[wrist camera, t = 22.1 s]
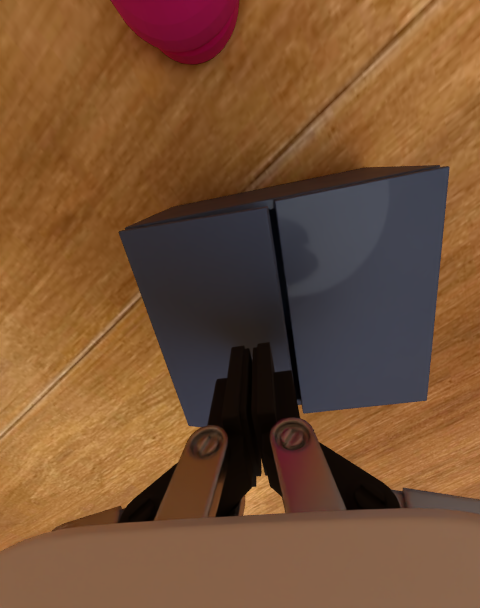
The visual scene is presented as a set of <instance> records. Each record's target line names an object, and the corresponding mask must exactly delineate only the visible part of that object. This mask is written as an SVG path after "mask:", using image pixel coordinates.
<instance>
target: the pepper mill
mask: <svg viewBox="0 0 480 608" xmlns="http://www.w3.org/2000/svg"><path fill="white" fill-rule="evenodd" d="M111 2H112V3H113V5H114V6H115V8H116V9H117V11H118V12H119V14H120V15H121V17H122V18H123V20H124V21H125V23H126V24H127V25H128V26H129V27H130V28H131V29H132V30H133V31H134V32H135V33H136V34H137V35H138V36H139V37H141V38H142V39H143V40H145V41H146V42H148V43H149V44H151V45H153V46H155V47H157V48H159V49H160V50H161V51H162V52H163V53H164V54H165V55H167V56H168V57H170V58H171V59H173V60H175V61H177V62H180V63H184V64H199V63H203V62H206V61H208V60H210V59H212V58H213V57H214V56H216V55H217V54H218V53H219V52H220V51H221V50H222V49H223V48H224V47H225V45H226V43H227V42H228V40H229V39H230V37H231V35H232V32H233V30H234V27H235V24H236V21H237V16H238V8H239V0H111Z"/></svg>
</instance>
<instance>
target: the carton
mask: <svg viewBox="0 0 480 608" xmlns="http://www.w3.org/2000/svg"><path fill="white" fill-rule="evenodd" d="M448 177H449V167H448V166H447V167H440V165H430V166H400V167H370V168H361V169H356V170H351V171H346V172H341V173H336V174H331V175H327V176H322V177H317V178H312V179H307V180H302V181H297V182H292V183H287V184H282V185H277V186H273V187H268V188H263V189H258V190H253V191H248V192H243V193H238V194H233V195H228V196H223V197H219V198H214V199H209V200H204V201H199V202H194V203H189V204H184V205H179V206H174V207H172V208H169V209H167V210H165V211H162V212H160V213H158V214H155V215H153V216H151V217H149V218H146V219H144V220H142V221H139V222H137V223H135V224H132V225H130V226H128V227H126V228H125V230H127V229H133V228H139V227H145V226H151V225H157V224H163V223H169V222H175V221H181V220H187V219H193V218H199V217H205V216H211V215H217V214H223V213H229V212H235V211H242V210H248V209H254V208H260V207H266V206H268V208H269V215H270V222H271V228H272V235H273V242H274V249H275V256H276V263H277V270H278V277H279V284H280V291H281V297H282V304H283V311H284V318H285V325H286V332H287V339H288V346H289V353H290V360H291V366H292V373H293V380H294V387H295V393H296V398H297V404H298V405H302V409H303V413H313V412H322V411H332V410H341V409H351V408H360V407H370V406H379V405H389V404H398V403H408V402H417V401H426V400H427V392H428V382H429V372H430V362H431V351H432V341H433V331H434V321H435V310H436V300H437V290H438V280H439V269H440V259H441V249H442V239H443V228H444V218H445V208H446V198H447V187H448Z"/></svg>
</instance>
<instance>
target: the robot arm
mask: <svg viewBox="0 0 480 608" xmlns="http://www.w3.org/2000/svg"><path fill="white" fill-rule="evenodd" d="M261 459H262V463H263V467H264V472H265V475H266V476H267V475H268V479H269V483H270V487H271V488H273V489H274V490H275V491H276V492H277V493H278V494H279V495H280V496H282V500H283V504H284V509H285V513H284V514H265V515H247V516H243V513H244V508H245V494H246V493H247V492H248V491H249V490H250V489H251V488H252V487H256V476H261ZM0 608H480V500H479V499H473V498H466V497H460V496H453V495H447V494H441V493H434V492H428V491H421V490H415V489H408V488H403V491H397V490H391V489H390V488H389V487H388V486H386V485H385V484H384V483H383V482H381V481H380V480H378V479H376V478H375V477H373V476H372V475H370V474H369V473H367V472H365V471H364V470H362V469H361V468H359V467H358V466H356V465H354V464H353V463H351V462H350V461H348V460H346V459H345V458H343V457H342V456H340V455H339V454H337V453H335V452H334V451H332V450H331V449H329V448H328V447H326V446H324V445H323V444H321V443H320V442H318V439H317V437H316V434H315V432H314V430H313V428H312V426H311V425H310V424H309V423H308V422H306V421H305V420H303V419H300V416H299V410H298V404H297V398H296V393H295V387H294V381H293V375H292V370H288V371H280V372H275V369H274V363H273V358H272V352H271V346H270V342H266V343H259V344H257V347H254V348H253V359H252V357H251V353H250V349H249V348H246V349H245V346H236V347H232V348H231V354H230V361H229V368H228V374H227V378H221V379H217V380H216V384H215V389H214V394H213V399H212V404H211V409H210V414H209V419H208V424H207V426H204V427H202V428H200V429H198V430H196V431H195V432H194V433H193V434H192V435H191V436H190V437H189V439H188V441H187V443H186V445H185V448H184V450H183V452H182V455H181V457H180V459H179V462H178V463H177V464H175V465H174V466H173V467H172V468H171V469H169V470H168V471H167V472H166V473H165V474H163V475H162V476H161V477H160V478H159V479H157V480H156V481H155V482H154V483H152V484H151V485H150V486H149V487H148V488H146V489H145V490H144V491H143V492H142V493H140V494H139V495H138V496H137V497H136V498H134V499H133V500H132V501H131V502H130V503H129V504H128V505H127V507H126V508H124V509H122V508H121V506H118V507H115V508H112V509H109V510H105V511H102V512H99V513H96V514H93V515H89V516H86V517H83V518H80V519H76V520H73V521H70V522H67V523H64V524H62V525H60V526H58V527H56V528H55V529H53V530H52V531H51V532H48V533H44V534H41V535H38V536H35V537H32V538H29V539H26V540H23V541H21V542H19V543H17V544H15V545H13V546H10V547H8V548H6V549H4V550H2V551H0Z"/></svg>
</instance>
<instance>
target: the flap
mask: <svg viewBox="0 0 480 608" xmlns="http://www.w3.org/2000/svg"><path fill="white" fill-rule="evenodd" d="M119 235H120V238H121V240H122V243H123V246H124V249H125V251H126V254H127V257H128V260H129V262H130V265H131V268H132V271H133V274H134V276H135V279H136V282H137V285H138V287H139V290H140V293H141V296H142V298H143V301H144V304H145V307H146V309H147V312H148V315H149V318H150V320H151V323H152V326H153V329H154V331H155V334H156V337H157V340H158V342H159V345H160V348H161V351H162V354H163V356H164V359H165V362H166V365H167V367H168V370H169V373H170V376H171V378H172V381H173V384H174V387H175V389H176V392H177V395H178V398H179V400H180V403H181V406H182V409H183V411H184V414H185V417H186V420H187V422H188V425H189V426H195V427H204V426H207V424H208V419H209V414H210V409H211V404H212V399H213V394H214V389H215V384H216V380H217V379H221V378H227V374H228V368H229V361H230V354H231V348H232V347H236V346H245V349H246V348H249V349H250V353H251V357H252V359H253V348H254V347H257V344H259V343H266V342H270V346H271V352H272V358H273V363H274V369H275V372H280V371H288V370H292V366H291V360H290V353H289V346H288V339H287V332H286V325H285V318H284V311H283V304H282V297H281V291H280V284H279V277H278V270H277V263H276V256H275V249H274V242H273V235H272V228H271V222H270V215H269V208H268V206H266V207H260V208H254V209H248V210H242V211H235V212H229V213H223V214H217V215H211V216H205V217H199V218H193V219H187V220H181V221H175V222H169V223H163V224H157V225H151V226H145V227H139V228H133V229H127V230H122V231H119ZM292 375H293V373H292ZM293 381H294V380H293Z"/></svg>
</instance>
